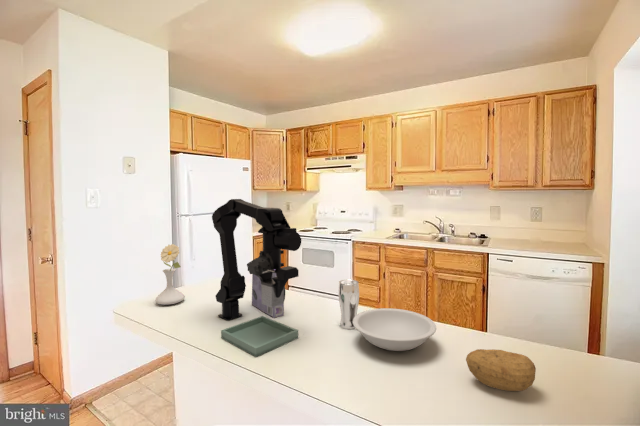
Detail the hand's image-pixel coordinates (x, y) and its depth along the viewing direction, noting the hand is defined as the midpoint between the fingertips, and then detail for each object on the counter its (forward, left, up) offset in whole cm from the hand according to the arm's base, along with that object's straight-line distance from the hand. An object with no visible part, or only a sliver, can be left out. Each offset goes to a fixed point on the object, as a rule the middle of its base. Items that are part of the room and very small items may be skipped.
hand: (272, 295), depth 104 cm
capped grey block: (0, 0, -3) cm, 3 cm away
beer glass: (+15, +21, -12) cm, 28 cm away
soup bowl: (+33, +19, -12) cm, 40 cm away
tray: (0, -5, -12) cm, 13 cm away
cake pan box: (-17, +12, -12) cm, 24 cm away
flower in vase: (-55, -9, -12) cm, 57 cm away
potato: (+62, +16, -12) cm, 65 cm away
